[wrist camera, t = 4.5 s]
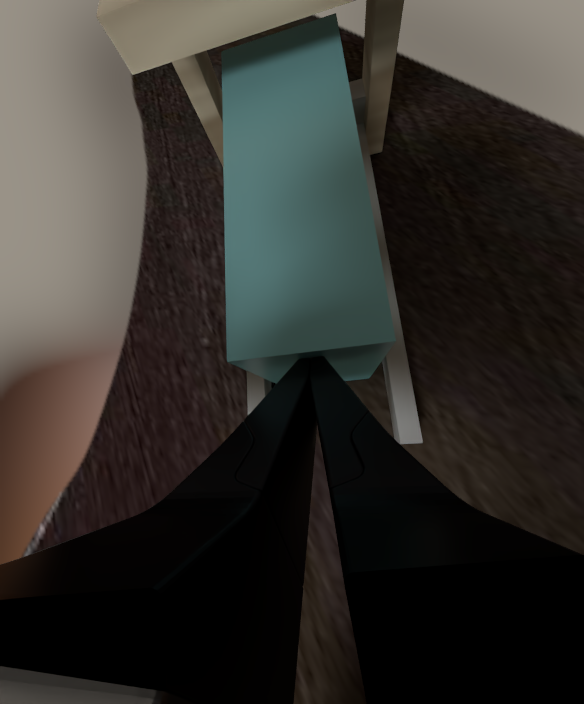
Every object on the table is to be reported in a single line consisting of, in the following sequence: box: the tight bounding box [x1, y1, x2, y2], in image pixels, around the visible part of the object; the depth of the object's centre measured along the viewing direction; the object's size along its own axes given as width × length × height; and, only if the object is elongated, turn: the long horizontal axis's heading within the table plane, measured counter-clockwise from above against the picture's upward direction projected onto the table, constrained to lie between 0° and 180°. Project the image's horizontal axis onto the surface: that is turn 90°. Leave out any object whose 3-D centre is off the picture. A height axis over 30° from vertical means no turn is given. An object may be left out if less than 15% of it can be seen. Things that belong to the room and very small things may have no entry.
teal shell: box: [222, 14, 396, 384], centre depth 13 cm, size 14×5×8 cm, turn 5°
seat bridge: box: [97, 0, 423, 444], centre depth 12 cm, size 22×11×11 cm, turn 4°
